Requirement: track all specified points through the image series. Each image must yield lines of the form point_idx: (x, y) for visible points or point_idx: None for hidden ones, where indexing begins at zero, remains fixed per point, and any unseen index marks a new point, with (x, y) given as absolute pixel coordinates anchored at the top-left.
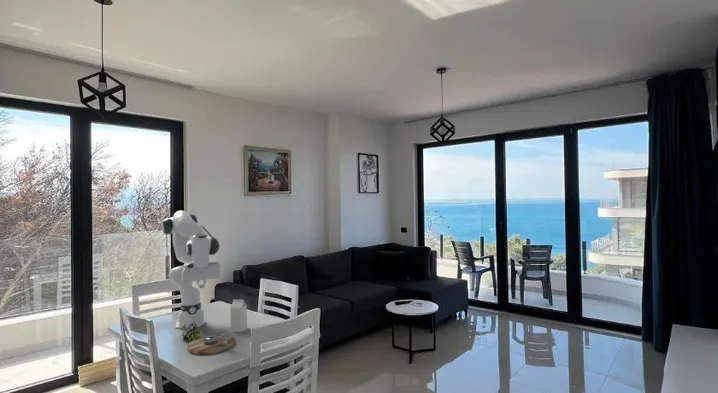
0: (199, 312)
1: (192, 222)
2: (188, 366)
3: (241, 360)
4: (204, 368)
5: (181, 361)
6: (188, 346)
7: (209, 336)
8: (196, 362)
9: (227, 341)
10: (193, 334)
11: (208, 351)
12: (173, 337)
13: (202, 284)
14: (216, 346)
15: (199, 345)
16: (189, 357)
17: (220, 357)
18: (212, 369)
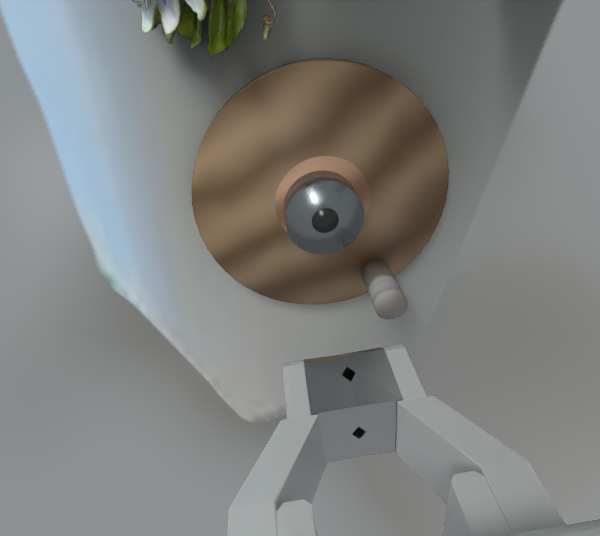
0: None
1: None
2: (217, 357)
3: None
4: (274, 386)
5: (182, 307)
6: (198, 210)
7: (319, 200)
8: (245, 335)
9: (403, 221)
10: (212, 25)
11: (297, 301)
12: None
13: (391, 414)
14: (339, 267)
15: (257, 220)
16: (213, 278)
17: (339, 323)
18: None
